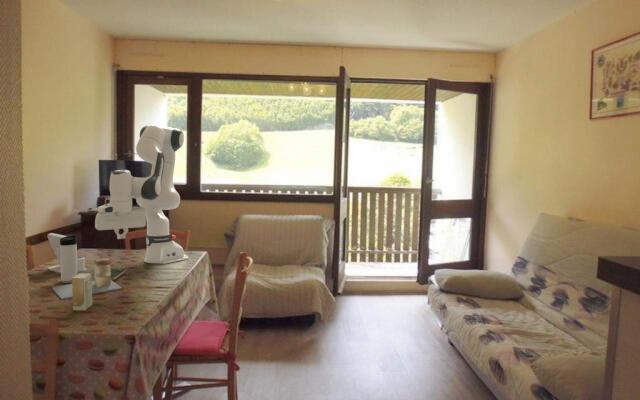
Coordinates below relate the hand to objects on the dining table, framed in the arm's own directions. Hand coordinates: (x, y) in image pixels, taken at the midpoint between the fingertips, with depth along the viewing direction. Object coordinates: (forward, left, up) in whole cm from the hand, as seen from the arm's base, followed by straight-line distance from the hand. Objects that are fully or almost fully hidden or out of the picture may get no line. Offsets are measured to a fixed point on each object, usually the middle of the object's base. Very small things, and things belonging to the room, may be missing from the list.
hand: (121, 238), depth 182 cm
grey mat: (+14, 0, -20) cm, 24 cm away
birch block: (+8, 0, -19) cm, 21 cm away
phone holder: (+14, -38, -20) cm, 45 cm away
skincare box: (+21, +23, -20) cm, 37 cm away
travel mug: (+17, -16, -20) cm, 31 cm away
